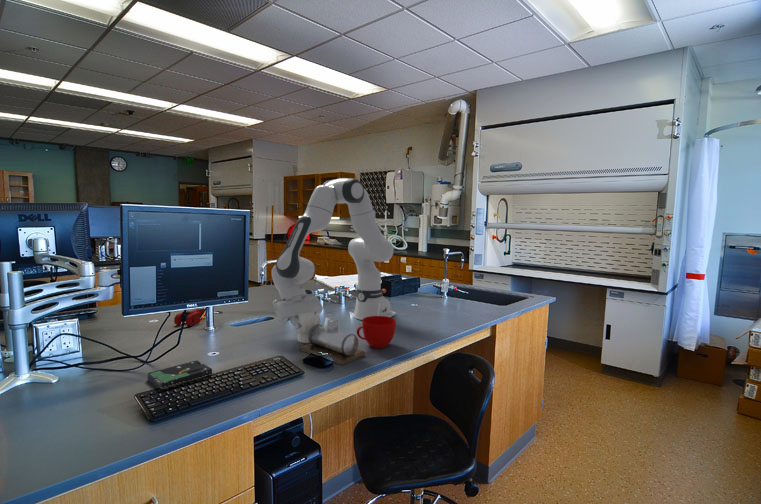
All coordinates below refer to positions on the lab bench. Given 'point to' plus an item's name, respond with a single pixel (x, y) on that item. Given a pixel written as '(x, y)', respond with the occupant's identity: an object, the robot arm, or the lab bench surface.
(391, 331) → the ceramic cup
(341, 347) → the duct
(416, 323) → the lab bench surface
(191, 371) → the disk drive
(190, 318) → the dark red rounded piece
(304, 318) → the duct elbow
